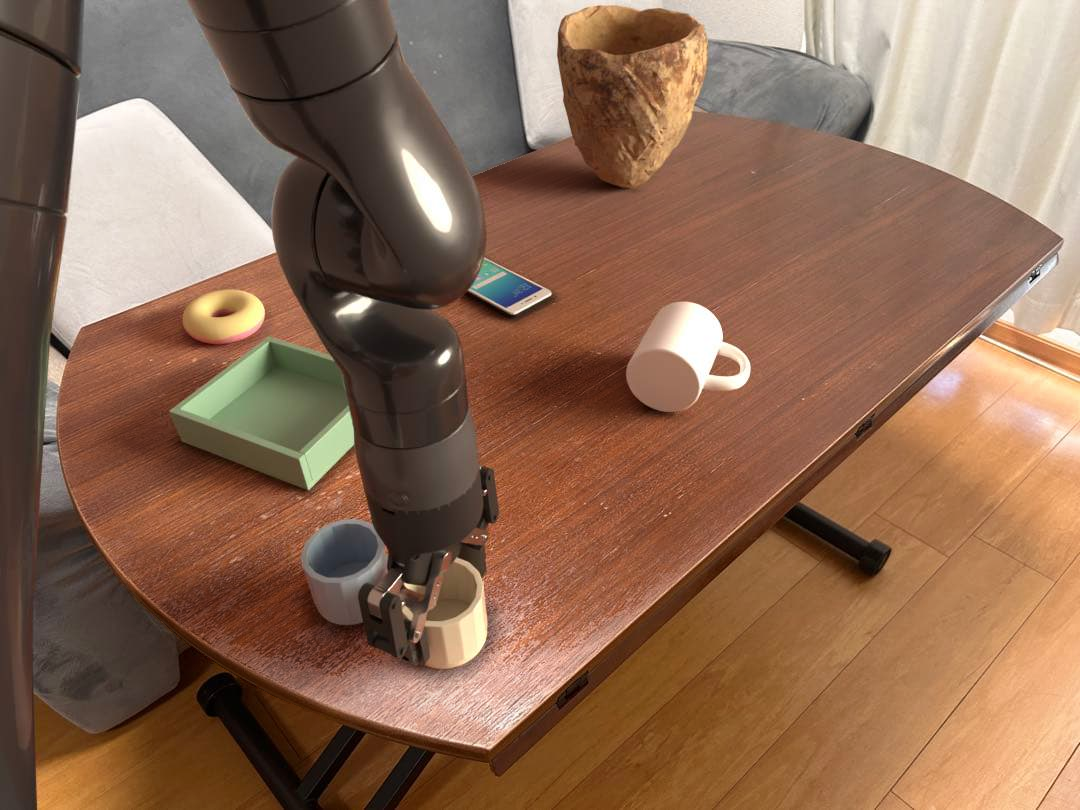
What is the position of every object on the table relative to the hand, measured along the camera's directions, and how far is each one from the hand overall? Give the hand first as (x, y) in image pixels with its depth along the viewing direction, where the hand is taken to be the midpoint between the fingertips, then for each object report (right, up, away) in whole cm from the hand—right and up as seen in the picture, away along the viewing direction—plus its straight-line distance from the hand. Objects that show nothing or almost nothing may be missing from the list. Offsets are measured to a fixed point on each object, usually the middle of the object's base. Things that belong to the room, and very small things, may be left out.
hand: (445, 613), depth 59 cm
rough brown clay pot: (+21, +53, +68) cm, 89 cm away
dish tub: (-19, +14, +21) cm, 32 cm away
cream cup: (0, -2, +1) cm, 2 cm away
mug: (+24, +18, +25) cm, 39 cm away
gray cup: (-8, +1, +4) cm, 9 cm away
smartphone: (+1, +32, +42) cm, 53 cm away
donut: (-32, +26, +36) cm, 54 cm away
